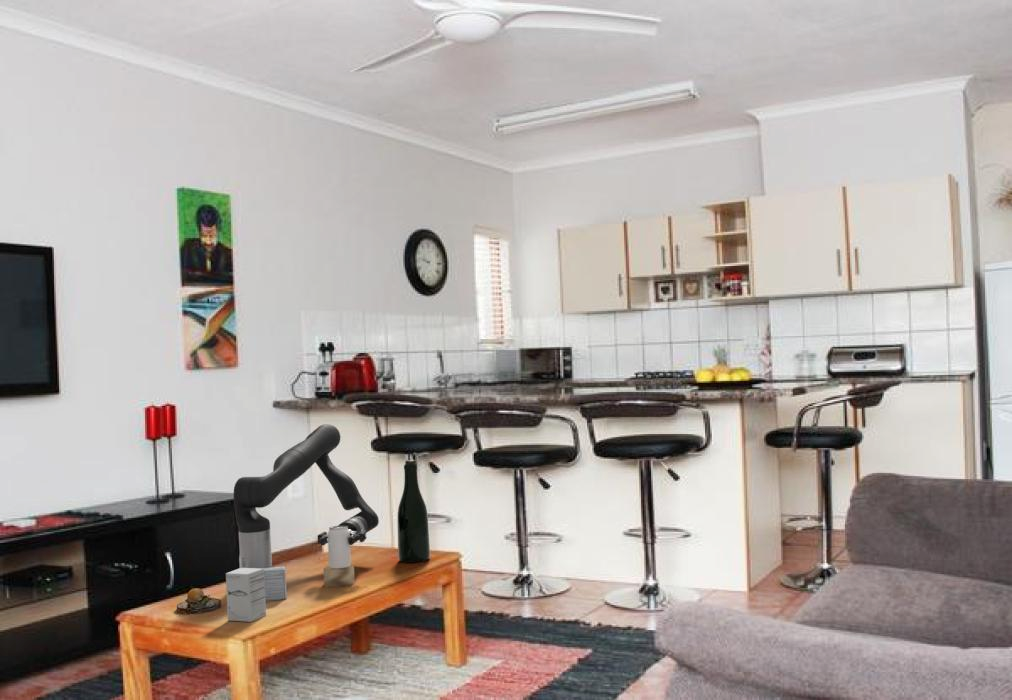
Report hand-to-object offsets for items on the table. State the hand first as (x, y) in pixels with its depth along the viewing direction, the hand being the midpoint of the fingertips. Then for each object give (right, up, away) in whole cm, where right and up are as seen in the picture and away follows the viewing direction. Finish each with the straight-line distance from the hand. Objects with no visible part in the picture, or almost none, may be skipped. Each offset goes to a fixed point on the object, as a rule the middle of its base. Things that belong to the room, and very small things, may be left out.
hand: (336, 541), depth 286 cm
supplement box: (-17, -14, -34) cm, 40 cm away
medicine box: (-16, -14, -14) cm, 25 cm away
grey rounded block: (+1, -13, +2) cm, 13 cm away
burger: (-35, -15, -20) cm, 43 cm away
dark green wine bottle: (+20, -13, +31) cm, 39 cm away
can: (+1, -8, +2) cm, 9 cm away
